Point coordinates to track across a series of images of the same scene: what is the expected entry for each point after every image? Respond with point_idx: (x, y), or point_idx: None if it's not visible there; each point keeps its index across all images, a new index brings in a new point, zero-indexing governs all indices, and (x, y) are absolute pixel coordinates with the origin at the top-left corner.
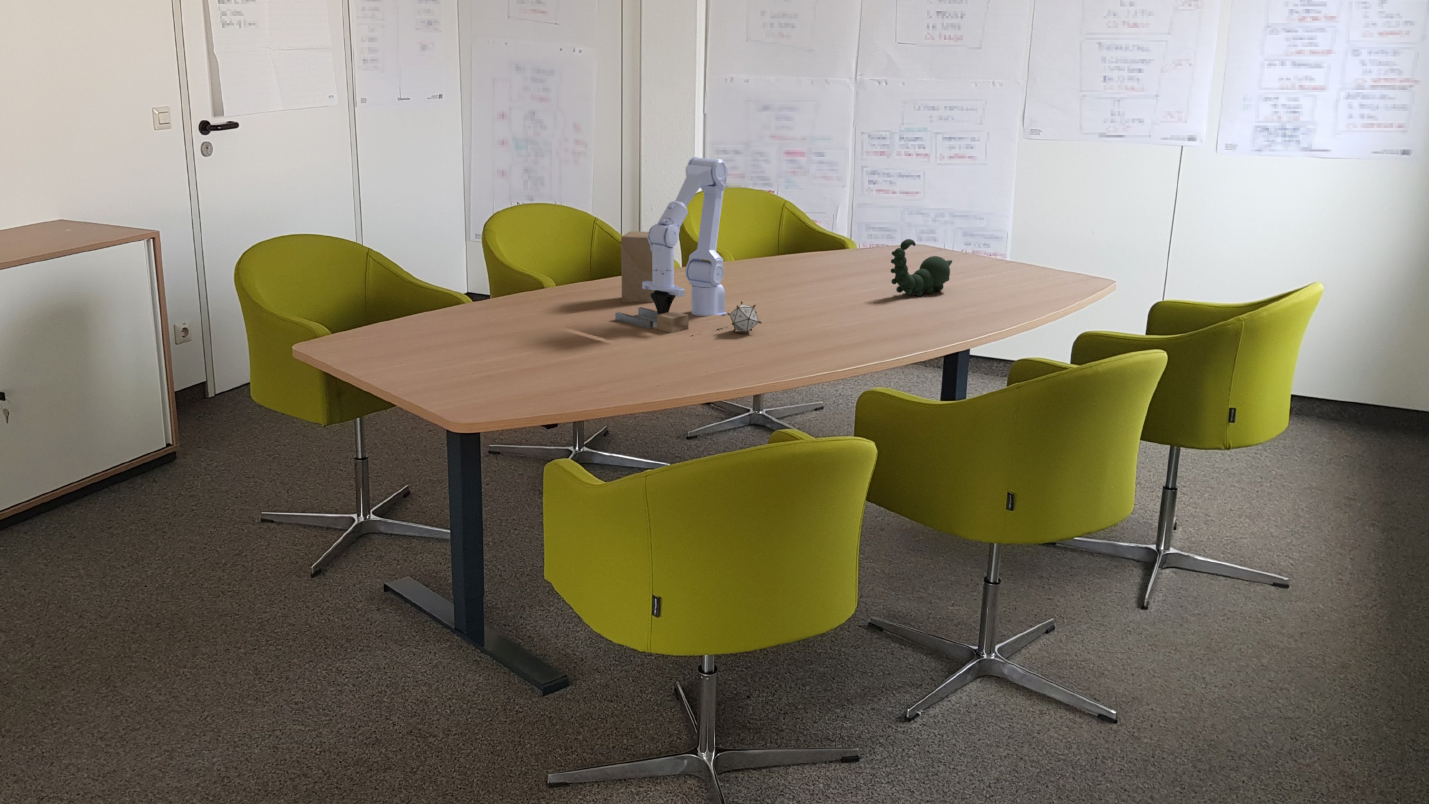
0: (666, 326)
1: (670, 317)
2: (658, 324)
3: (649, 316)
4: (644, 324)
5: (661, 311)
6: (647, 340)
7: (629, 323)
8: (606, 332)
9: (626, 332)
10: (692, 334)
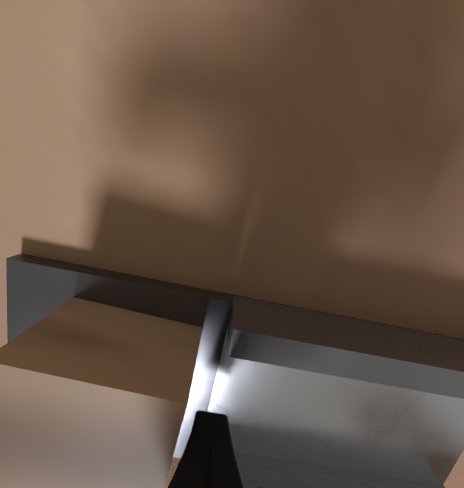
0: (102, 326)
1: (18, 383)
2: (183, 343)
3: (369, 479)
4: (282, 321)
5: (180, 468)
6: (117, 118)
7: (404, 336)
8: (456, 137)
9: (341, 210)
10: None
